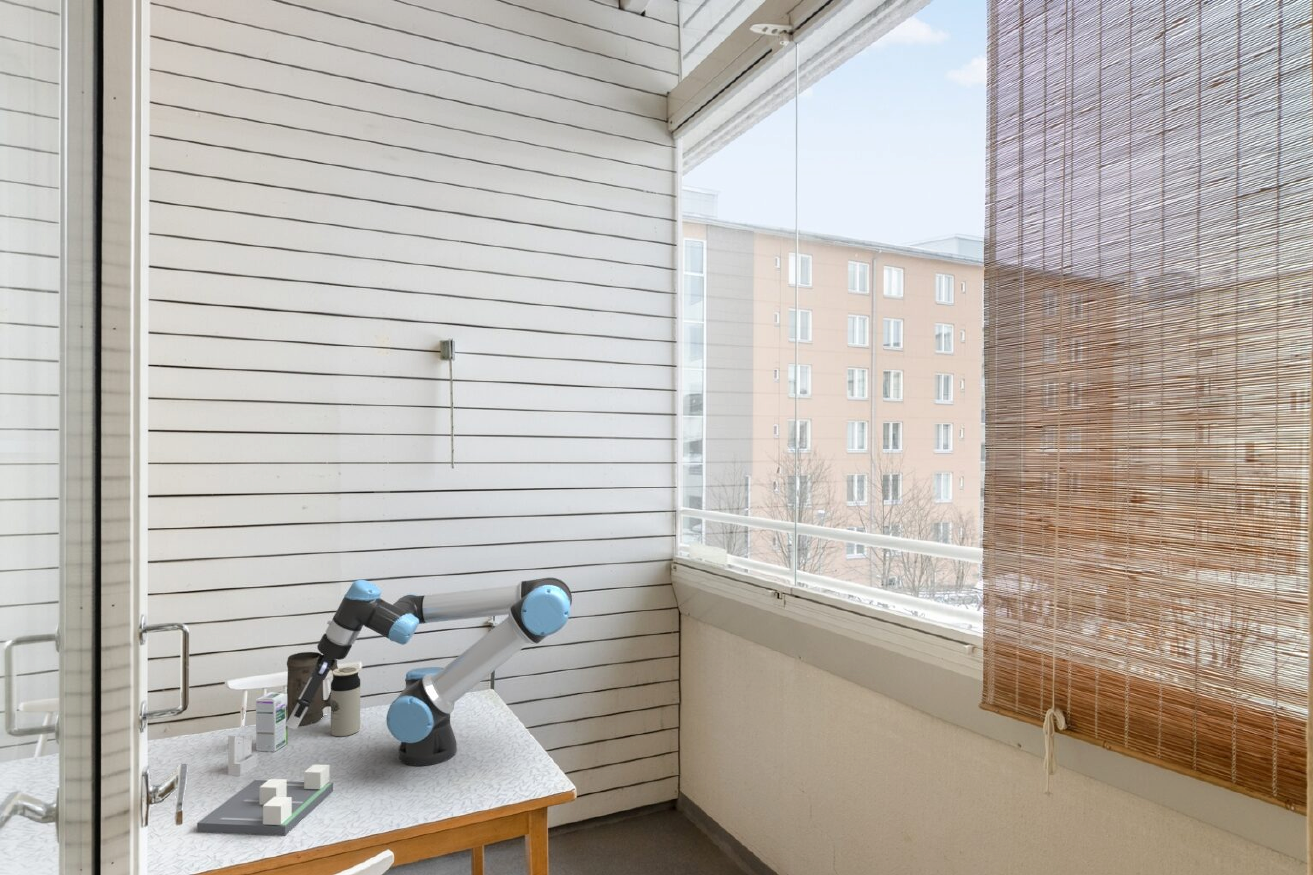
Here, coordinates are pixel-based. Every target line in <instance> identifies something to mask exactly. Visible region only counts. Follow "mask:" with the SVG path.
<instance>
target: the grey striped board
mask: <svg viewBox="0 0 1313 875" xmlns="http://www.w3.org/2000/svg"><path fill="white" fill-rule="evenodd" d="M268 780H269V779H268ZM268 780H267V779H266V780H261V779H254V780H253V781H252V782H250V783H249V784H247V785H246V786H245V787H243V788H242V789H240V790H239V791H238V792H237V793H235V794H233V796H231V797H230V798H229V799H227V800H226V801H225V802H223V803H221V804H220V805H219V806H218V807H217V808H215V809H214V810H212V811H211V812H210V813H208V814H207V815H206V816H205V817H203V818H202V819H201V820H199V821H198V822H197V823H196V832H197V833H206V834H208V833H210V834H211V833H212V834H234V835H252V836H253V835H256V836H257V835H258V836H279V837H280V836H281V837H282V836H284V837H285V836H287V835H288V834H289V833H290V832H291V831H292V830H293V829H294V828H295V827H296V826H298V825H299V822H300V821H301V820H302V819H303V820H304V819H305V818H306V817H308V815H309V814H310V813H312V812H313V811H314V810H315V809H316V807H318V806H319V805H321V803H323V801H324V800H325V799H327V797H328V796H330V795H331V794H332V793H333V792H334V782H328V783H327V784H326V785H325V786H324V787H323V788H321V789H304V781H293V780H290V781H289V780H287V797H292V815H291V816H290V817H289V818H288V819H287V820H286V821H285V822H284V823H282V824H281V825H270V824H263V805H259V794H260V786H262V785H263V784H264V783H265V782H267V781H268ZM303 820H302V821H303ZM302 821H301V822H302ZM301 822H300V823H301ZM289 831H290V832H289Z"/></svg>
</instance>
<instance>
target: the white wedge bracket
mask: <svg viewBox="0 0 1313 875" xmlns="http://www.w3.org/2000/svg"><path fill="white" fill-rule="evenodd" d="M227 742H228V744H227V745H228V753H227V754H228V756H227V757H228V758H227V759H228V760H227V761H228V766H227V768H228V771H227V773H228V776H235V777H242V776H243V775H245V774H247V773H249V772H250V771H252V770H253V768H254V767H255V766H257V767H258V754H257V753H252V739H248V738H244V737H241V736H240V737H239V736H236V735H228V741H227ZM255 768H256V767H255ZM255 768H254V769H255ZM251 769H252V770H251ZM248 771H249V772H248ZM246 772H247V773H246ZM244 773H245V774H244Z"/></svg>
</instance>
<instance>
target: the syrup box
mask: <svg viewBox="0 0 1313 875" xmlns="http://www.w3.org/2000/svg"><path fill="white" fill-rule="evenodd" d="M287 721H288V717H287V692H283V691H282V692H281V691H272V692H271V691H270V692H267V693H266V694H264V695H261V697H259V698H256V699H255V738H256V739H255V742H256V743H255V745H256V746H255V748H256V749H255V750H256V751H258V752H265V751H272V753H275V751H276V752H277V751H278V750H280V749H281V748H282V747H284V746H286V745H287V744H288V743H289V739H288V738H289V737H288V736H289V735H288V732H289V730H288V728H289V727H288V726H285V725H286V723H287Z"/></svg>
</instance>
